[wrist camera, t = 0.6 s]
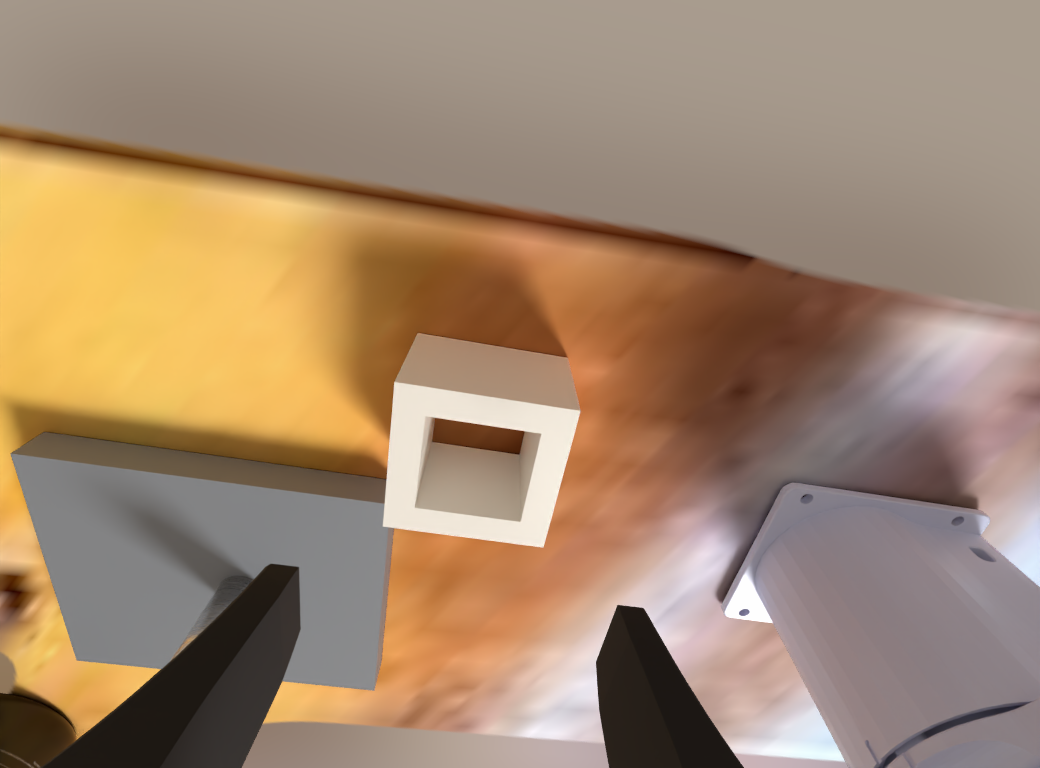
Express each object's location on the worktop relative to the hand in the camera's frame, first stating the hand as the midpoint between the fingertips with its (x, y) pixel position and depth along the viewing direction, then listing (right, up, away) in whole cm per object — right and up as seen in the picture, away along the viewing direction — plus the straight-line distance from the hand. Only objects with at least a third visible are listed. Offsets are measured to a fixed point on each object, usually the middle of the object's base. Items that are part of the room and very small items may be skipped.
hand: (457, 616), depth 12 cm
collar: (0, +4, +8) cm, 9 cm away
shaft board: (-12, -3, +12) cm, 17 cm away
